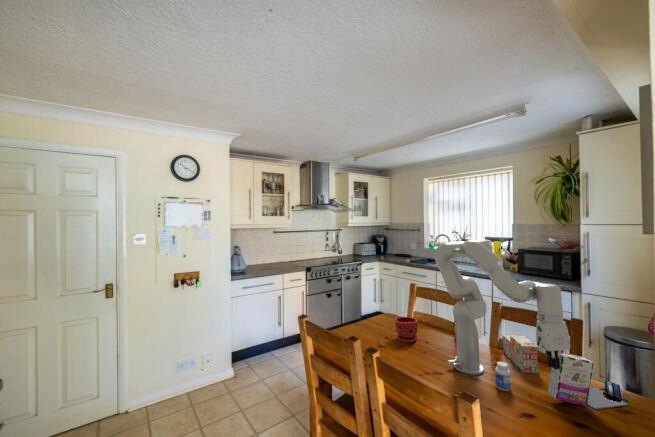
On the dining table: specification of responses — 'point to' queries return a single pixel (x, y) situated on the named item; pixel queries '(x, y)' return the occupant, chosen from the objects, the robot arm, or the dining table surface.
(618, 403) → the mat
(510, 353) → the printed cardboard carton
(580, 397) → the candy bar box
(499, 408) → the dining table surface
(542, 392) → the dining table surface
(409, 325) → the plant pot
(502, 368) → the pill bottle
